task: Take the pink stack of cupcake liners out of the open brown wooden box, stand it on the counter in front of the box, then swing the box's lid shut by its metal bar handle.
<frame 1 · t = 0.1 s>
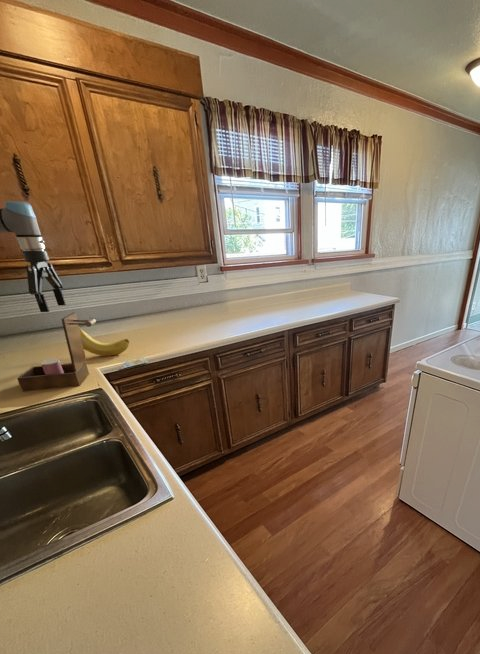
hand: (54, 308, 130), 28 cm above the worktop, tool pointing down, fingers open, 13 cm apart
banana: (107, 355, 164), on the worktop
baking ingredient package: (129, 364, 152), on the worktop
lid: (85, 341, 128), point 17 cm above the worktop, hinge at 95.0°
liner stack: (58, 382, 132), point 1 cm above the worktop, touching brown wooden box
brown wooden box: (58, 384, 133), on the worktop
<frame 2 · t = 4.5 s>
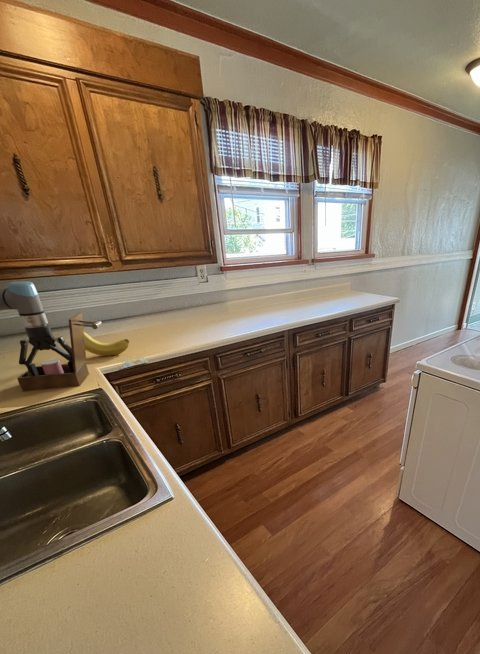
hand: (56, 378, 131), 3 cm above the worktop, tool pointing down, fingers open, 12 cm apart
lid: (89, 342, 129), point 16 cm above the worktop, hinge at 101.2°
everything else where it was.
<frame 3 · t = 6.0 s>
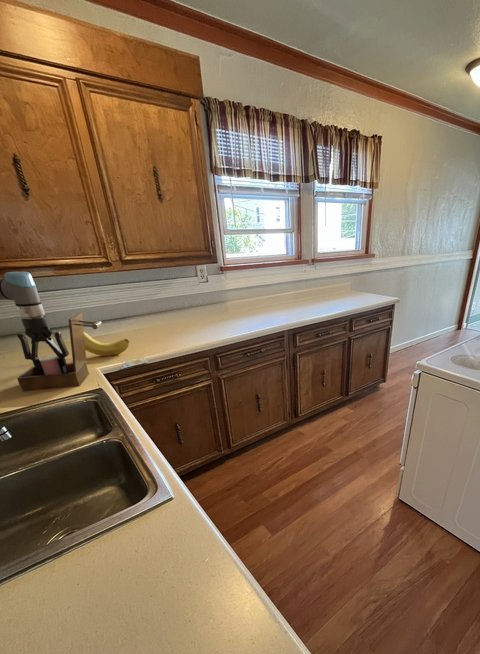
hand: (54, 374, 131), 4 cm above the worktop, tool pointing down
liner stack: (56, 378, 131), point 2 cm above the worktop, touching gripper
everything else where it was.
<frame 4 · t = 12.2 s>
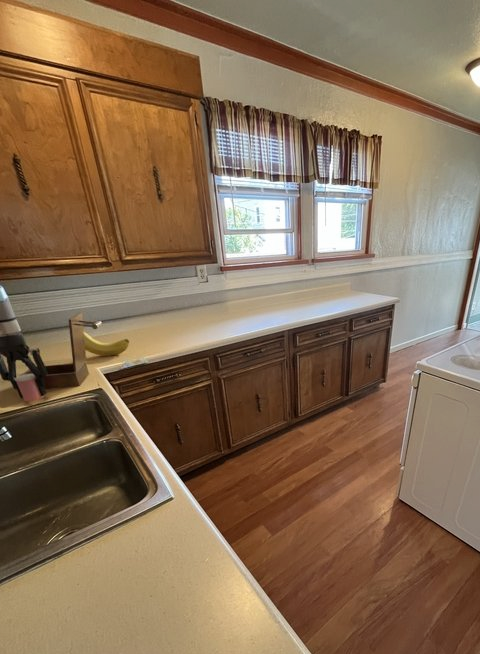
hand: (33, 395, 120), 2 cm above the worktop, tool pointing down, fingers closed on liner stack, 6 cm apart
liner stack: (35, 399, 120), on the worktop, touching gripper
everything else where it was.
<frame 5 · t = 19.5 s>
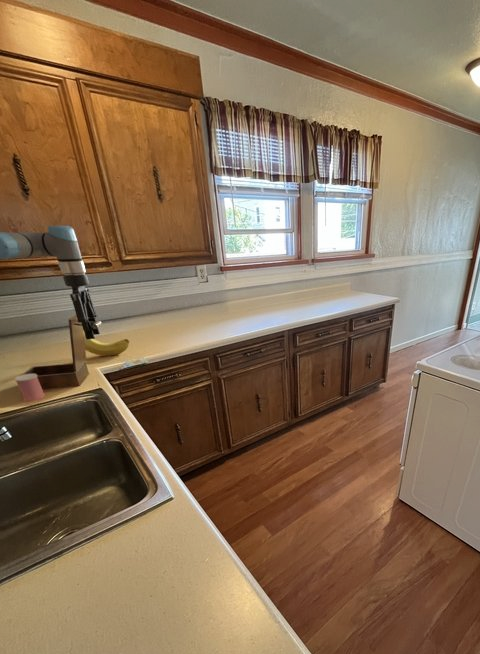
hand: (93, 336, 128), 18 cm above the worktop, tool pointing down, fingers closed on lid, 6 cm apart
lid: (89, 342, 129), point 16 cm above the worktop, hinge at 101.2°, touching gripper
liner stack: (35, 399, 120), on the worktop
everything else where it was.
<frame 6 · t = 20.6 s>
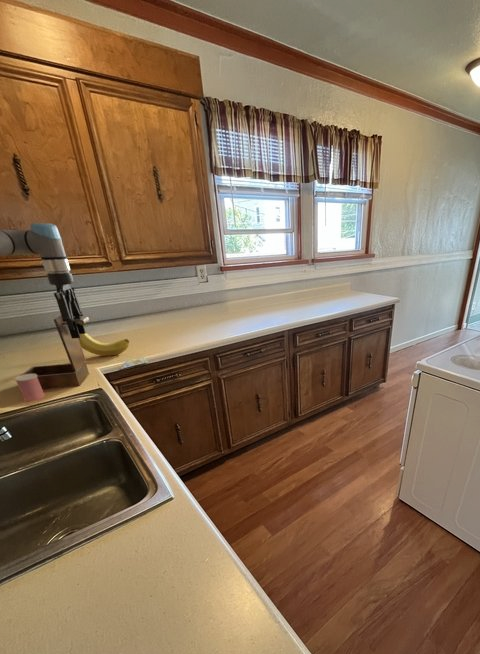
hand: (79, 335, 127), 19 cm above the worktop, tool pointing down, fingers closed on lid, 6 cm apart
lid: (81, 340, 128), point 17 cm above the worktop, hinge at 87.8°, touching gripper
everything else where it was.
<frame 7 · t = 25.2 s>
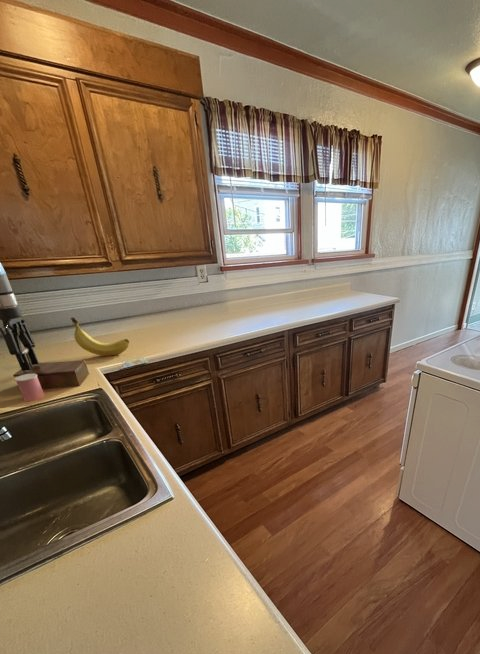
hand: (30, 366, 127), 8 cm above the worktop, tool pointing down, fingers closed on lid, 6 cm apart
lid: (48, 359, 128), point 11 cm above the worktop, hinge at 1.7°, touching gripper
everything else where it was.
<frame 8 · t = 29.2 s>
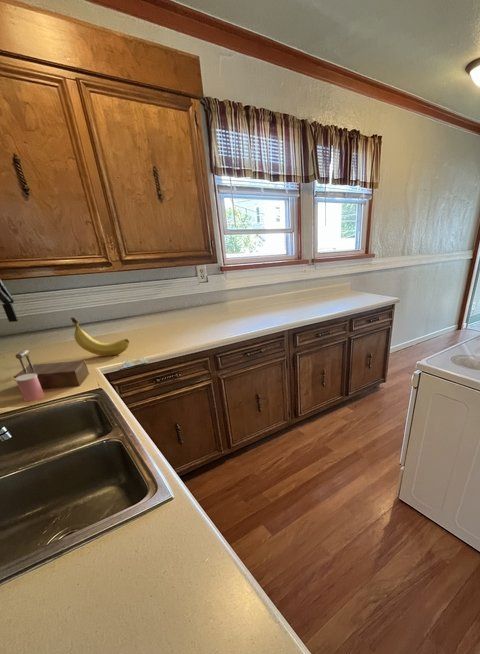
hand: (4, 325, 119), 25 cm above the worktop, tool pointing down, fingers open, 13 cm apart
lid: (48, 359, 128), point 10 cm above the worktop, hinge at -0.1°, touching brown wooden box
everything else where it was.
at the end: liner stack inside the target area (0.3 cm from its centre), on the worktop; liner stack tilted 0°; lid at +0° (first picture: +95°) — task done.
